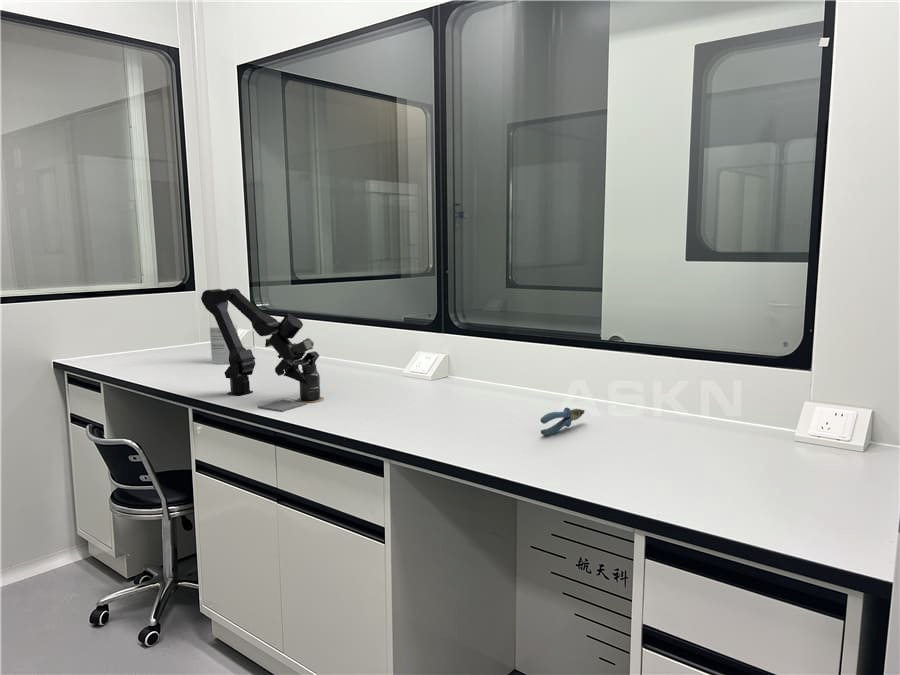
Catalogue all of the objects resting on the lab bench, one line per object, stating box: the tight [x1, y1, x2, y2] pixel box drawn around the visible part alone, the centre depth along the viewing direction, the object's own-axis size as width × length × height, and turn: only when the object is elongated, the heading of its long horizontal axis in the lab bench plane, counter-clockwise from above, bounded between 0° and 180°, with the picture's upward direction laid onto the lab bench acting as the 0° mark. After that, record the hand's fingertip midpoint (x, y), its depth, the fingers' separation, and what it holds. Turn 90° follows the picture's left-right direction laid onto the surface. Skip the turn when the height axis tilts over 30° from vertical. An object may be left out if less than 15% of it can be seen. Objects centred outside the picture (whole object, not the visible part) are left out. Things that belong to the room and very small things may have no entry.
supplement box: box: [209, 324, 239, 365], centre depth 305 cm, size 10×9×17 cm
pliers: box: [540, 407, 585, 436], centre depth 187 cm, size 20×2×6 cm, turn 136°
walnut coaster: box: [296, 396, 325, 404], centre depth 228 cm, size 9×9×1 cm
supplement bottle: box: [298, 363, 321, 401], centre depth 227 cm, size 7×7×12 cm
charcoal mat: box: [257, 399, 308, 413], centre depth 220 cm, size 11×11×1 cm
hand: (313, 381), depth 227 cm, fingers closed on supplement bottle, 7 cm apart
